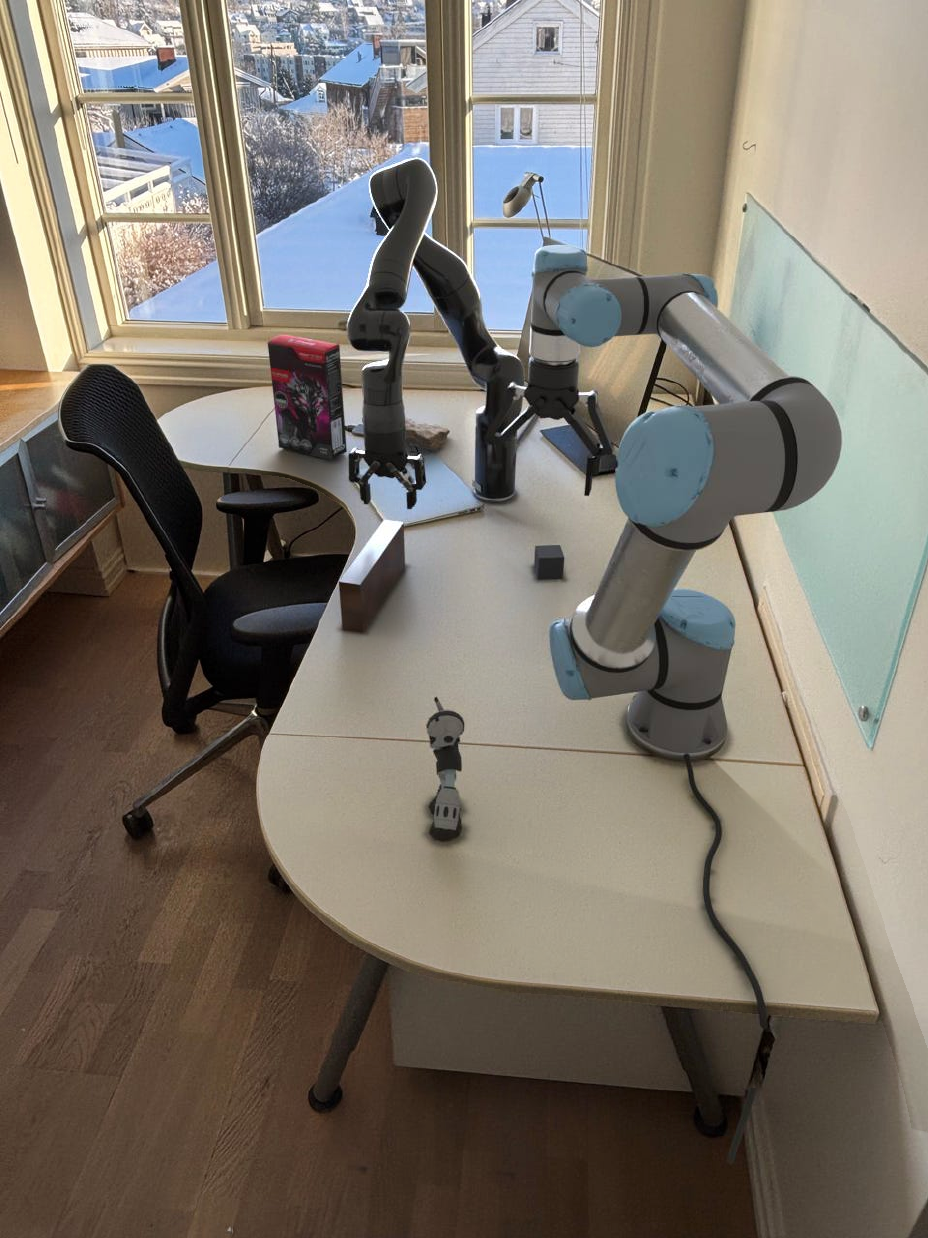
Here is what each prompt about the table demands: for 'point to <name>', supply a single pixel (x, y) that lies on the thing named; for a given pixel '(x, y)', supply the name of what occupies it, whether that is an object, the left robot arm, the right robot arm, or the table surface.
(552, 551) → the grey block
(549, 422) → the table surface
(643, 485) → the right robot arm
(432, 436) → the stone
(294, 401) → the graphics card box
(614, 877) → the table surface
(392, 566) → the beam
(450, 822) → the robot
